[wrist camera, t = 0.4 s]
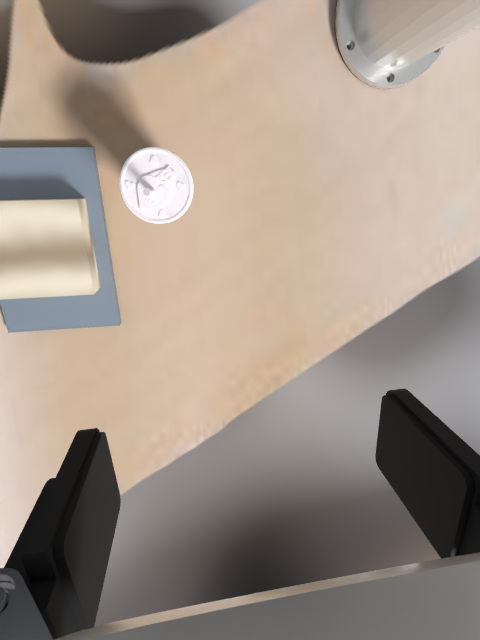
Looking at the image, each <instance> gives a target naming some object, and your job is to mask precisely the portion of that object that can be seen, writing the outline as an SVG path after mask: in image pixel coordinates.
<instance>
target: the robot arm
mask: <svg viewBox="0 0 480 640" xmlns="http://www.w3.org/2000/svg"><path fill="white" fill-rule="evenodd" d="M335 26H336V37H337V42H338V46H339V50H340V52H341V55H342V57H343V59H344V62H345V63H346V65H347V66H348V68H349V69H350V71H351V72H352V73H353V74H354V75H355V76H356V77H357V78H358V79H359V80H361V81H363V82H364V83H366V84H367V85H370V86H373V87H376V88H384V89H390V88H396V87H400V86H402V85H405V84H407V83H409V82H411V81H413V80H415V79H417V78H418V77H420V76H421V75H422V74H423V73H425V72H426V71H427V70H428V69H429V68H430V67H431V66H432V64H433V63H434V62H435V61H436V60H437V58H438V57H439V55H440V54H441V52H442V51H443V48H444V46H445V45H446V44H448V43H450V42H451V41H453V40H455V39H457V38H458V37H460V36H462V35H464V34H466V33H467V32H469V31H471V30H473V29H474V28H476V27H478V26H480V0H338V2H337V6H336V18H335ZM347 46H348V47H349V50H348V48H347ZM387 78H388V81H387ZM376 462H377V465H378V467H379V469H380V470H381V471H382V473H383V475H384V476H385V478H386V479H387V480H388V482H389V483H390V485H391V486H392V487H393V489H394V490H395V492H396V494H397V495H398V496H399V498H400V499H401V501H402V502H403V504H404V505H405V506H406V508H407V510H408V511H409V512H410V514H411V515H412V517H413V518H414V520H415V521H416V522H417V524H418V525H419V527H420V528H421V530H422V531H423V533H424V534H425V536H426V537H427V539H428V540H429V541H430V543H431V544H432V546H433V547H434V549H435V550H436V551H437V553H438V554H439V556H440V557H441V559H437V560H432V561H426V562H421V563H415V564H409V565H404V566H399V567H393V568H388V569H382V570H377V571H371V572H366V573H360V574H355V575H350V576H344V577H339V578H334V579H329V580H323V581H318V582H313V583H308V584H303V585H297V586H292V587H286V588H281V589H276V590H271V591H265V592H260V593H255V594H250V595H245V596H240V597H235V598H230V599H225V600H219V601H214V602H210V603H204V604H199V605H194V606H189V607H184V608H179V609H174V610H168V611H164V612H159V613H154V614H150V615H145V616H141V617H136V618H132V619H127V620H122V621H117V622H113V623H108V624H105V625H101V626H97V627H94V624H95V620H96V615H97V610H98V606H99V601H100V597H101V592H102V588H103V583H104V578H105V574H106V569H107V565H108V560H109V556H110V551H111V546H112V542H113V537H114V533H115V528H116V523H117V519H118V514H119V510H120V493H119V488H118V484H117V480H116V476H115V471H114V467H113V463H112V459H111V454H110V450H109V446H108V442H107V438H106V434H105V432H99V430H98V429H97V428H95V429H87V430H79V431H78V432H77V433H76V435H75V437H74V440H73V442H72V444H71V446H70V448H69V450H68V452H67V455H66V457H65V459H64V461H63V463H62V465H61V467H60V470H59V472H58V474H57V476H56V478H52V479H49V480H48V481H47V482H46V484H45V486H44V488H43V490H42V492H41V494H40V496H39V498H38V500H37V502H36V504H35V506H34V508H33V510H32V512H31V514H30V516H29V518H28V520H27V522H26V524H25V526H24V528H23V530H22V532H21V534H20V537H19V539H18V541H17V543H16V545H15V547H14V549H13V551H12V553H11V555H10V557H9V559H8V561H7V563H6V565H5V567H4V568H0V640H480V455H478V454H477V453H476V452H475V451H474V450H473V449H472V448H471V447H469V446H468V445H467V444H466V443H465V442H464V441H463V440H462V439H461V438H460V437H459V436H457V435H456V434H455V433H454V432H453V431H452V430H451V429H450V428H449V427H447V426H446V425H445V424H444V423H443V422H442V421H441V420H440V419H439V418H438V417H437V416H435V415H434V414H433V413H432V412H431V411H430V410H429V409H428V408H427V407H425V406H424V405H423V404H422V403H421V402H420V401H419V400H418V399H416V397H414V396H413V395H412V394H411V393H410V392H409V391H408V390H406V389H397V390H390V391H388V392H387V393H386V395H384V396H383V397H382V403H381V413H380V422H379V430H378V439H377V448H376Z"/></svg>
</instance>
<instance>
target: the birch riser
mask: <svg viewBox="0 0 480 640" xmlns="http://www.w3.org/2000/svg"><path fill="white" fill-rule="evenodd" d="M99 289H100V281H99V275H98V269H97V263H96V258H95V252H94V246H93V240H92V234H91V228H90V222H89V216H88V211H87V205H86V199H85V198H83V199H38V200H0V300H1V299H20V298H39V297H57V296H76V295H94V294H95V293H96V292H97V291H98V290H99Z"/></svg>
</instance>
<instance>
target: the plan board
mask: <svg viewBox="0 0 480 640" xmlns="http://www.w3.org/2000/svg"><path fill="white" fill-rule="evenodd" d="M83 198H85V199H86V205H87V211H88V216H89V222H90V228H91V234H92V240H93V246H94V252H95V258H96V263H97V269H98V275H99V281H100V289H99V290H98V291H97V292H96V293H95V294H94V295H76V296H57V297H39V298H20V299H1V300H0V305H1V308H2V312H3V315H4V319H5V322H6V326H7V329H8V333H9V332H24V331H40V330H55V329H71V328H87V327H102V326H118V325H120V324H121V318H120V312H119V305H118V299H117V292H116V286H115V279H114V273H113V266H112V260H111V253H110V247H109V240H108V234H107V227H106V221H105V214H104V208H103V201H102V195H101V188H100V182H99V175H98V169H97V162H96V156H95V149H94V148H93V147H32V148H0V200H38V199H83Z"/></svg>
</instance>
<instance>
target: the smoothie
mask: <svg viewBox="0 0 480 640" xmlns="http://www.w3.org/2000/svg"><path fill="white" fill-rule="evenodd" d="M119 184H120V191H121V195H122V198H123V200H124V202H125V204H126V205H127V207H128V208H129V209H130V210H131V211H132V212H133V213H134V214H135V215H136V216H137V217H139V218H140V219H142V220H144V221H147V222H150V223H155V224H163V223H168V222H172V221H174V220H176V219H178V218H179V217H180V216H182V215H183V214H184V213H185V212H186V210H187V209H188V207H189V206H190V204H191V200H192V197H193V187H194V185H193V180H192V175H191V173H190V171H189V169H188V167H187V165H186V164H185V163H184V162H183V160H182V159H181V158H180V157H178V156H177V155H176V154H174V153H173V152H171V151H169V150H166V149H164V148H159V147H147V148H143V149H140V150H138V151H136V152H134V153H133V154H132V155H131V156H130V157H129V158H128V159H127V160H126V162H125V163H124V165H123V167H122V170H121V173H120V180H119Z"/></svg>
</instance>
